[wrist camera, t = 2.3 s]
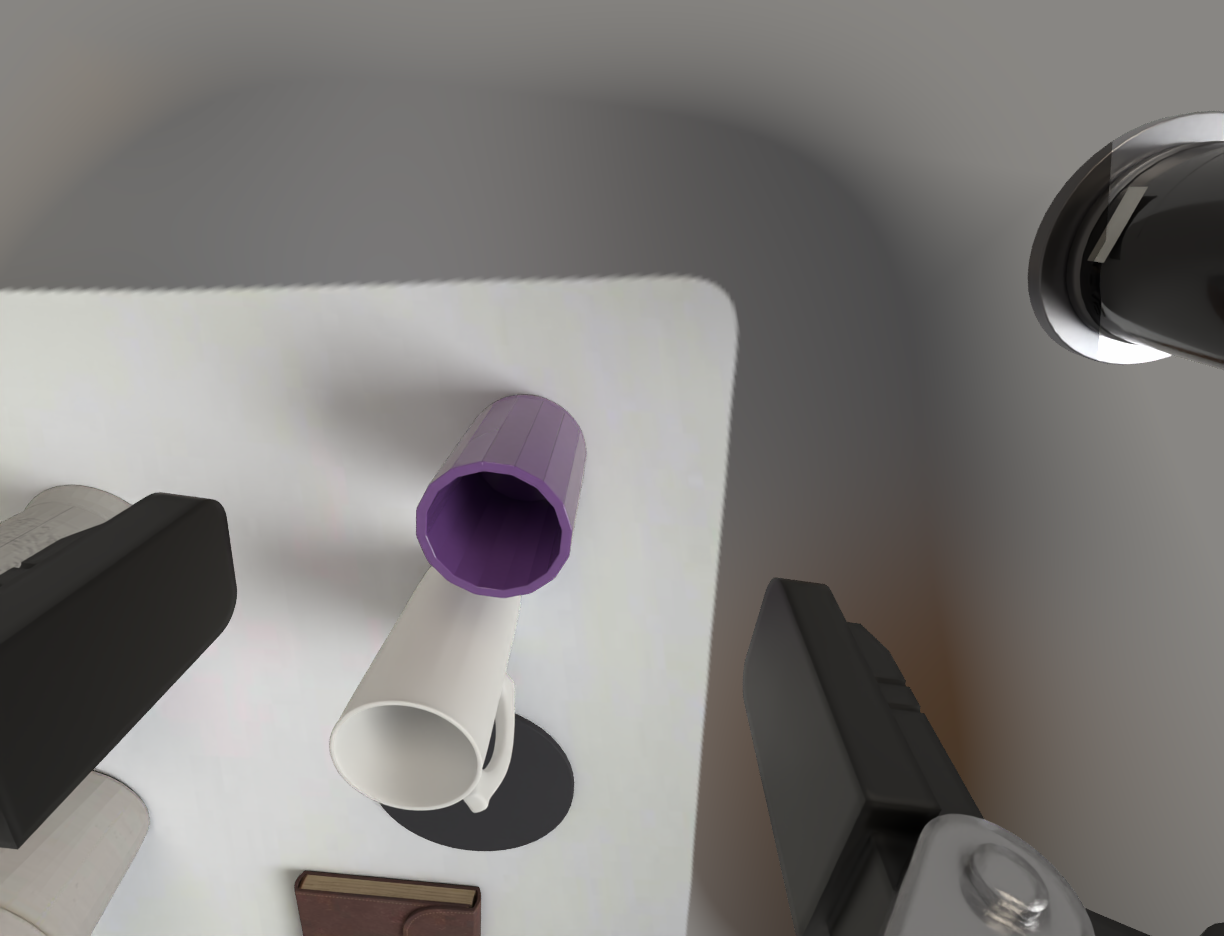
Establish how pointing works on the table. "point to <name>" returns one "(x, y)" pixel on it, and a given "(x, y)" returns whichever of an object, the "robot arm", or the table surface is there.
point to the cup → (506, 499)
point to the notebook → (385, 906)
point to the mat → (505, 799)
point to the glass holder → (54, 520)
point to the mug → (433, 703)
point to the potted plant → (72, 861)
